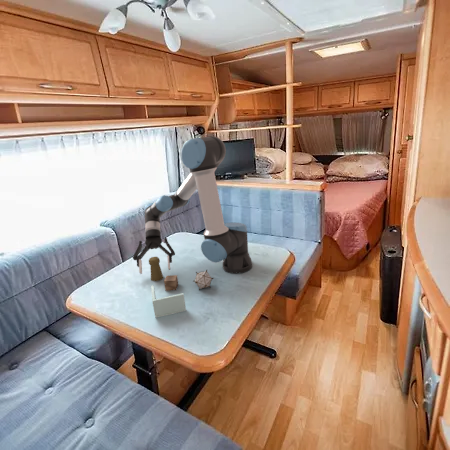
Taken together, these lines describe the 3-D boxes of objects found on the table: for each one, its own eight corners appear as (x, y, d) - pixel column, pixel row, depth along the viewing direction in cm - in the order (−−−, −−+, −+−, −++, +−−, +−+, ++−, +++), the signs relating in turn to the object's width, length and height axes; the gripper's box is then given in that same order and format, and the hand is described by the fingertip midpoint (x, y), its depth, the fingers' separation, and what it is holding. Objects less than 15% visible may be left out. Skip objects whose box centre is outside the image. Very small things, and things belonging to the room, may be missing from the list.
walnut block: (178, 284, 133) (177, 275, 132) (176, 290, 129) (175, 280, 127) (167, 285, 134) (166, 275, 132) (165, 290, 129) (163, 281, 127)
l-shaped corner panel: (186, 310, 113) (183, 294, 111) (155, 317, 110) (152, 301, 108) (181, 295, 124) (179, 280, 122) (153, 301, 121) (150, 286, 119)
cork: (157, 282, 137) (153, 261, 133) (148, 279, 140) (144, 259, 136) (165, 276, 142) (162, 256, 138) (157, 274, 145) (153, 254, 141)
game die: (207, 296, 129) (209, 287, 121) (190, 289, 129) (190, 280, 121) (214, 279, 134) (216, 269, 126) (197, 273, 135) (198, 263, 127)
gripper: (178, 231, 152) (181, 269, 142) (129, 237, 149) (130, 276, 139) (176, 225, 145) (180, 264, 136) (126, 231, 142) (126, 272, 133)
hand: (155, 271), depth 137 cm, fingers open, 13 cm apart
